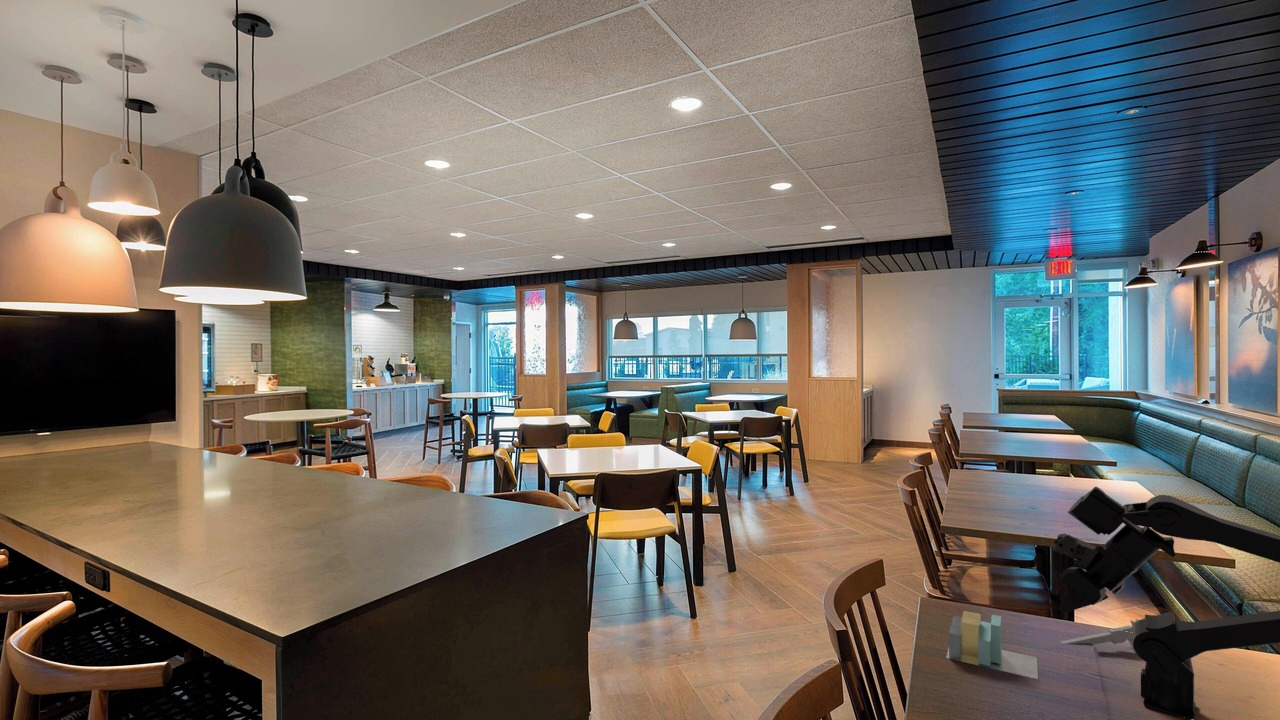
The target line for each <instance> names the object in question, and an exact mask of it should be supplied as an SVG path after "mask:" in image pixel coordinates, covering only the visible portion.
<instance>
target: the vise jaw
mask: <svg viewBox="0 0 1280 720" xmlns="http://www.w3.org/2000/svg"><path fill="white" fill-rule="evenodd" d="M990 620H991V621H990V622H988V621H983V620H981V625H980V631H979V637H978V664H982V665H986V666H990V665H991V662H994V663H999V664H1001V653H1002V650H1003V649H1002V616H1001V615H995V614H992V615H991V618H990Z"/></svg>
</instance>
